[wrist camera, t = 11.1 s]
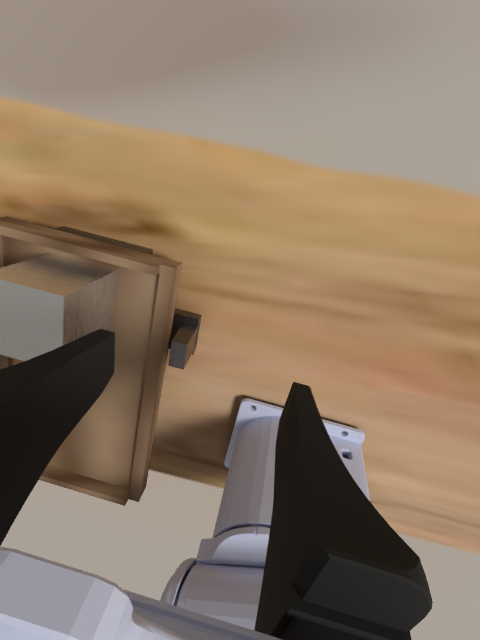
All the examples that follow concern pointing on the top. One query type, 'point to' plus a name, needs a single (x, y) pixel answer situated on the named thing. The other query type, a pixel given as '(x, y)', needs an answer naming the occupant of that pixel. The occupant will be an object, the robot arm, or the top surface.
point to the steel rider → (52, 304)
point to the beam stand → (183, 321)
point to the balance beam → (129, 367)
